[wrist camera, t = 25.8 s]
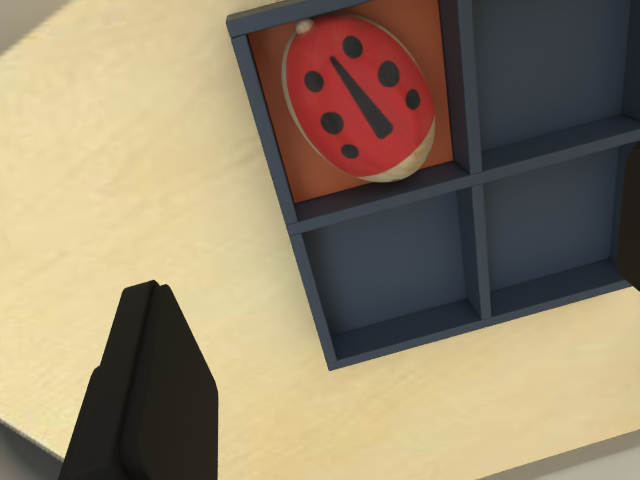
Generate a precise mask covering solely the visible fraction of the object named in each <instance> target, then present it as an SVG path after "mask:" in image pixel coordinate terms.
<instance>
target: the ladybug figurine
mask: <svg viewBox="0 0 640 480" xmlns="http://www.w3.org/2000/svg"><path fill="white" fill-rule="evenodd" d="M295 28H296V30H295V32H294V33H293V34H292V36H291V37H290V39H289V41H288V43H287V45H286V47H285V51H284V54H283V59H282V69H281V77H282V86H283V92H284V96H285V100H286V103H287V106H288V109H289V111H290V113H291V116H292V118H293V120H294V122H295V123H296V125H297V127H298V128H299V130H300V132H301V133H302V135H303V136H304V138H305V139H306V140H307V142H308V143H309V144H310V145H311V146H312V147H313V149H314V150H315V151H316V152H317V153H318V154H320V155H321V156H322V157H323V158H324V159H325V160H327V161H328V162H329V163H330V164H332V165H333V166H335V167H336V168H338V169H339V170H341V171H343V172H345V173H347V174H349V175H351V176H354V177H357V178H360V179H363V180H367V181H373V182H392V181H397V180H401V179H404V178H406V177H408V176H410V175H412V174H413V173H414V172H416V171H417V170H418V169H419V168H420V167H421V166H422V164H423V163H424V162H425V160H426V159H427V157H428V155H429V153H430V151H431V148H432V145H433V141H434V136H435V109H434V104H433V99H432V95H431V92H430V89H429V86H428V84H427V82H426V79H425V77H424V75H423V73H422V71H421V70H420V68H419V66H418V64H417V63H416V61H415V60H414V58H413V57H412V55H411V54H410V52H409V51H408V50H407V49H406V47H405V46H404V45H403V44H402V43H401V42H400V41H399V40H398V39H397V38H396V37H395V36H394V35H393V34H391V33H390V32H389V31H388V30H387V29H385V28H384V27H382V26H381V25H379V24H378V23H376V22H374V21H372V20H370V19H368V18H365V17H363V16H360V15H356V14H352V13H347V12H328V13H324V14H321V15H317V16H314V17H312V18H306V19H302V20H299V21H298V22H297V23H296V26H295Z"/></svg>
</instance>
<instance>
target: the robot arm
mask: <svg viewBox="0 0 640 480" xmlns="http://www.w3.org/2000/svg"><path fill="white" fill-rule="evenodd" d="M616 267H617V270H618V272H619V274H620V275H621V277H622V278H623V279H624V280H626V281H627V282H628V283H630V284H631V285H632V286H633V287H635V288H636V289H637V290H638V291H640V141H639V142H637V143H636V144H635V145H634V147H633V149H632V151H631V152H629V153H628V155H627V158H626V164H625V174H624V184H623V194H622V204H621V214H620V224H619V234H618V244H617V254H616ZM217 478H218V390H217V386H216V383H215V380H214V378H213V376H212V374H211V372H210V370H209V367H208V365H207V363H206V361H205V359H204V357H203V355H202V353H201V351H200V349H199V347H198V344H197V342H196V340H195V338H194V336H193V334H192V332H191V330H190V328H189V326H188V324H187V321H186V319H185V317H184V315H183V313H182V311H181V309H180V307H179V305H178V303H177V301H176V298H175V296H174V294H173V292H172V290H171V288H170V287H169V286H168V285H167V284H165V285H161V286H160V285H159V284H158V283H157V282H156V281H155V280H151V281H148V282H144V283H141V284H137V285H134V286H130V287H127V288H125V289H124V290H123V292H122V295H121V298H120V301H119V305H118V308H117V311H116V314H115V318H114V321H113V324H112V327H111V331H110V334H109V337H108V341H107V344H106V347H105V350H104V354H103V357H102V360H101V363H100V366H98V367H97V368H95V369H94V371H93V373H92V375H91V378H90V381H89V384H88V387H87V390H86V393H85V397H84V400H83V403H82V406H81V409H80V412H79V415H78V418H77V422H76V425H75V428H74V431H73V434H72V437H71V440H70V443H69V447H68V450H67V453H66V456H65V459H64V462H63V465H62V469H61V472H60V475H59V478H58V480H217ZM477 480H640V429H639V430H636V431H633V432H629V433H626V434H623V435H620V436H616V437H613V438H610V439H607V440H603V441H600V442H597V443H594V444H590V445H587V446H584V447H580V448H577V449H574V450H571V451H567V452H564V453H561V454H558V455H554V456H551V457H548V458H545V459H541V460H538V461H535V462H532V463H528V464H525V465H522V466H519V467H515V468H512V469H509V470H506V471H503V472H499V473H496V474H493V475H490V476H487V477H483V478H480V479H477Z"/></svg>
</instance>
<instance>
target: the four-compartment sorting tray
mask: <svg viewBox="0 0 640 480" xmlns="http://www.w3.org/2000/svg"><path fill="white" fill-rule="evenodd" d="M328 12H347V13H352V14H356V15H360V16H363V17H365V18H368V19H370V20H372V21H374V22H376V23H378V24H379V25H381V26H382V27H384V28H385V29H387V30H388V31H389V32H390V33H391V34H393V35H394V36H395V37H396V38H397V39H398V40H399V41H400V42H401V43H402V44H403V45H404V46H405V47H406V49H407V50H408V51H409V52H410V54H411V55H412V57H413V58H414V60H415V61H416V63H417V64H418V66H419V68H420V70H421V71H422V73H423V75H424V77H425V79H426V82H427V84H428V86H429V89H430V92H431V95H432V99H433V104H434V109H435V136H434V141H433V145H432V148H431V151H430V153H429V155H428V157H427V159H426V160H425V162H424V163H423V164H422V166H421V167H420V168H419V169H418V170H417V171H416V172H414V173H413V174H412V175H410V176H408V177H406V178H404V179H401V180H397V181H392V182H373V181H367V180H363V179H360V178H357V177H354V176H351V175H349V174H347V173H345V172H343V171H341V170H339V169H338V168H336V167H335V166H333V165H332V164H330V163H329V162H328V161H327V160H325V159H324V158H323V157H322V156H321V155H320V154H318V153H317V152H316V151H315V150H314V149H313V147H312V146H311V145H310V144H309V143H308V142H307V140H306V139H305V138H304V136H303V135H302V133H301V132H300V130H299V128H298V127H297V125H296V123H295V122H294V120H293V118H292V116H291V113H290V111H289V109H288V106H287V103H286V100H285V96H284V92H283V86H282V77H281V69H282V59H283V54H284V51H285V47H286V45H287V43H288V41H289V39H290V37H291V36H292V34H293V33H294V32H295V30H296V28H295V26H296V23H297V22H298V21H299V20H302V19H306V18H312V17H314V16H317V15H321V14H324V13H328ZM226 25H227V28H228V32H229V35H230V37H231V42H232V45H233V48H234V52H235V55H236V59H237V62H238V65H239V69H240V72H241V75H242V79H243V82H244V86H245V89H246V92H247V96H248V99H249V102H250V106H251V109H252V113H253V116H254V119H255V123H256V126H257V129H258V133H259V136H260V140H261V143H262V146H263V150H264V153H265V157H266V160H267V163H268V167H269V170H270V173H271V177H272V180H273V184H274V187H275V190H276V194H277V197H278V200H279V204H280V207H281V211H282V214H283V217H284V221H285V224H286V228H287V231H288V234H289V238H290V241H291V244H292V248H293V251H294V255H295V258H296V261H297V265H298V268H299V271H300V275H301V278H302V282H303V285H304V288H305V292H306V295H307V298H308V302H309V305H310V309H311V312H312V315H313V319H314V322H315V325H316V329H317V332H318V336H319V339H320V342H321V346H322V349H323V353H324V356H325V359H326V362H327V366H328V369H329V371H332V370H335V369H339V368H342V367H346V366H349V365H353V364H357V363H360V362H364V361H367V360H371V359H374V358H378V357H382V356H385V355H389V354H392V353H396V352H399V351H403V350H406V349H410V348H414V347H417V346H421V345H424V344H428V343H431V342H435V341H439V340H442V339H446V338H449V337H453V336H456V335H460V334H464V333H467V332H471V331H474V330H478V329H481V328H485V327H488V326H492V325H496V324H499V323H503V322H506V321H510V320H513V319H517V318H521V317H524V316H528V315H531V314H535V313H538V312H542V311H545V310H549V309H553V308H556V307H560V306H563V305H567V304H570V303H574V302H578V301H581V300H585V299H588V298H592V297H595V296H599V295H603V294H606V293H610V292H613V291H617V290H620V289H624V288H627V287H631V286H632V285H631V284H630V283H628V282H627V281H626V280H624V279H623V278H622V277H621V275H620V274H619V272H618V270H617V267H616V254H617V244H618V234H619V224H620V214H621V204H622V194H623V184H624V174H625V164H626V158H627V155H628V153H629V152H631V151H632V149H633V147H634V145H635V144H636V143H637V142H639V141H640V0H285V1H281V2H277V3H273V4H270V5H266V6H262V7H258V8H254V9H251V10H247V11H243V12H239V13H235V14H232V15H228V16H227V19H226Z"/></svg>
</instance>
